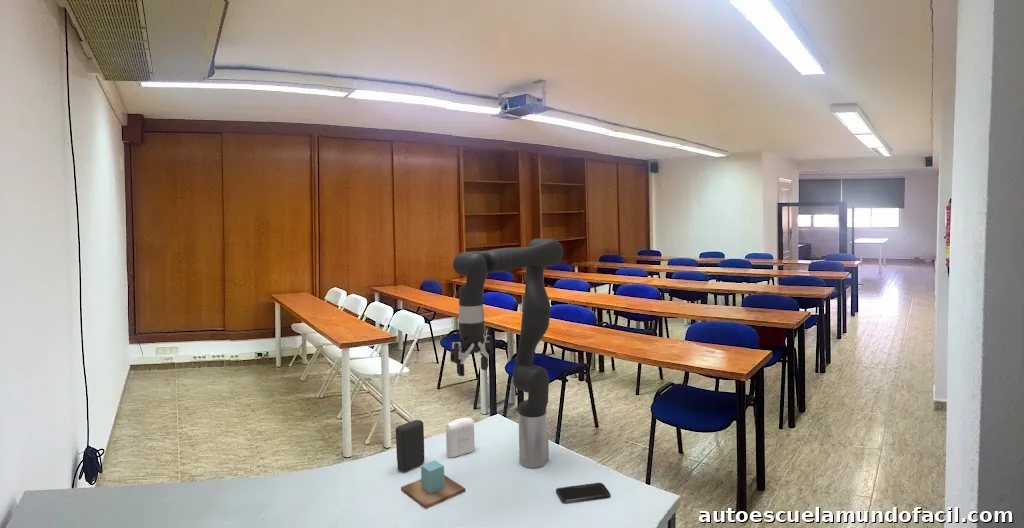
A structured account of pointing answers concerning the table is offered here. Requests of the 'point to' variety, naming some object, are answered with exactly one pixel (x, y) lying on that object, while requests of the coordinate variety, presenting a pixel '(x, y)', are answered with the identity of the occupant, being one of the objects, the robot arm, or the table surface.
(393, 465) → the table surface
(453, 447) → the photo printer
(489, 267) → the robot arm
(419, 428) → the card reader
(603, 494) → the phone
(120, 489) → the table surface
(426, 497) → the walnut board
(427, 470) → the teal block
